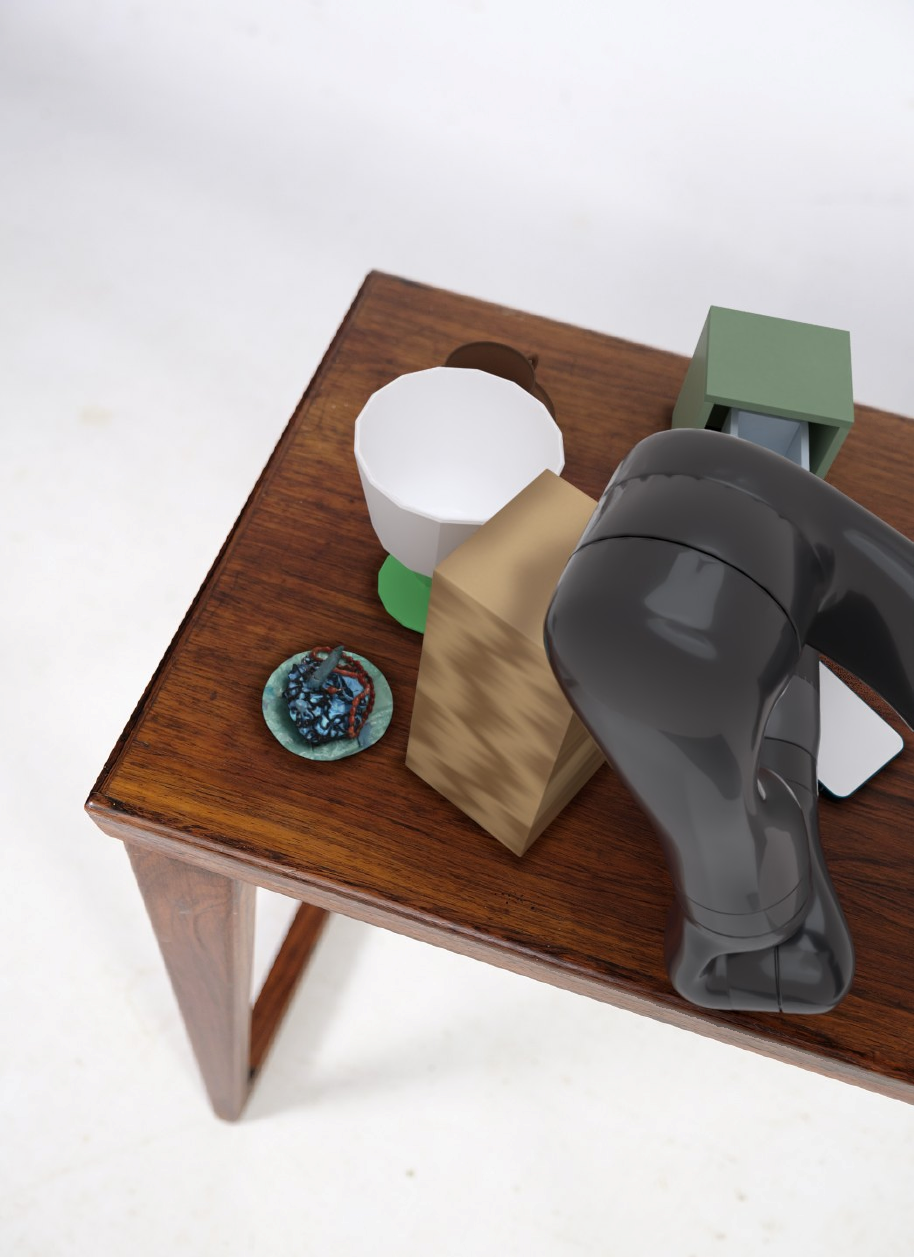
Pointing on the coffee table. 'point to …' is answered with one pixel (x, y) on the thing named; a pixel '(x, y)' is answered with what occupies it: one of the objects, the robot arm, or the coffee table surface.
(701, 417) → the cabinet
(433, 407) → the cup
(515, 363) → the cup and saucer
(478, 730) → the stand
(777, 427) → the bin
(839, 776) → the smartphone
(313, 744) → the dish
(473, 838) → the coffee table surface
